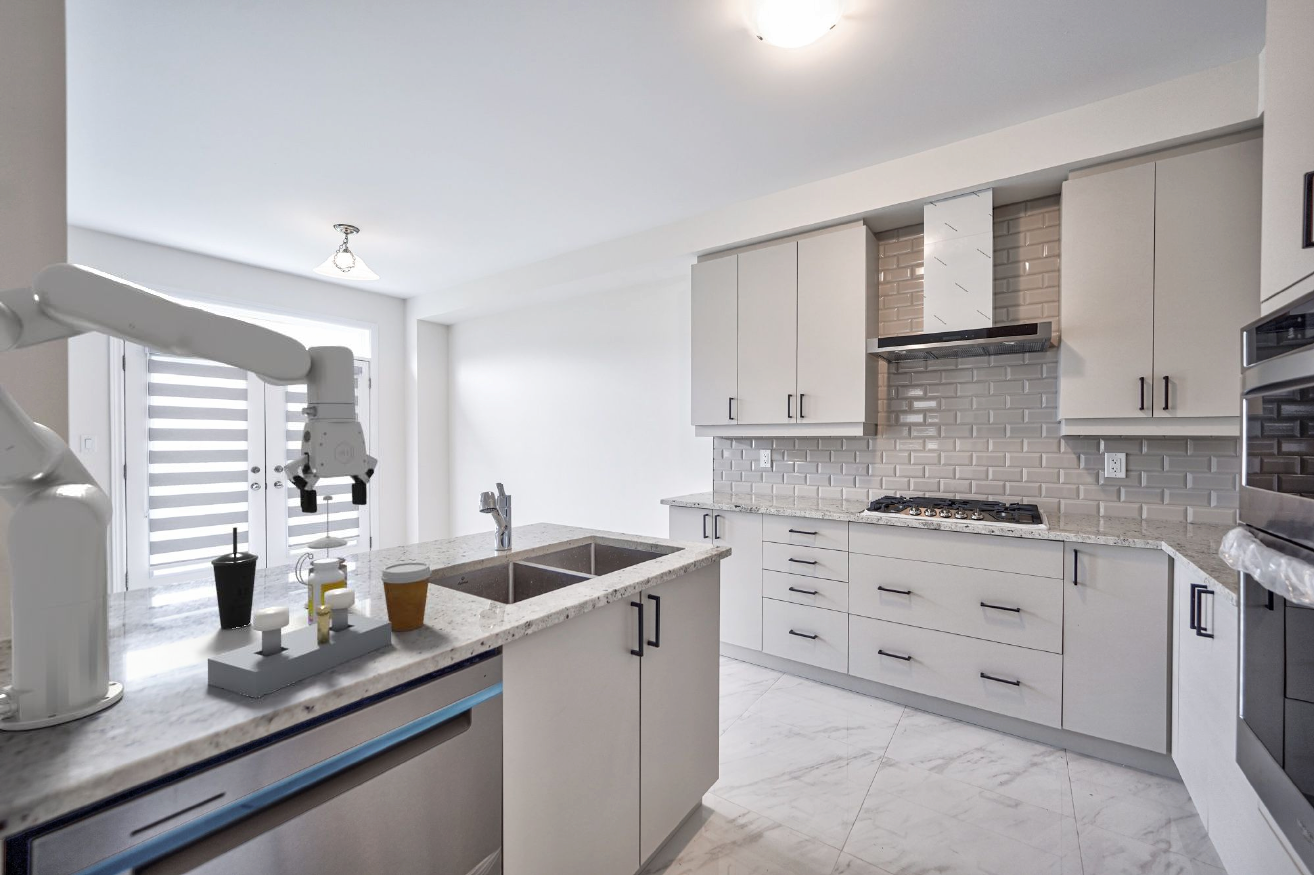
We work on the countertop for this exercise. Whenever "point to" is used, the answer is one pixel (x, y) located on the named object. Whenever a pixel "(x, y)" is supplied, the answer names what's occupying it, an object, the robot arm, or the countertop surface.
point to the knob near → (271, 627)
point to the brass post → (323, 624)
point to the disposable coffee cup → (406, 594)
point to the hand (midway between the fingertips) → (335, 508)
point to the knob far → (339, 606)
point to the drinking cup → (235, 586)
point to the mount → (295, 656)
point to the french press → (324, 544)
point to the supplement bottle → (323, 584)
